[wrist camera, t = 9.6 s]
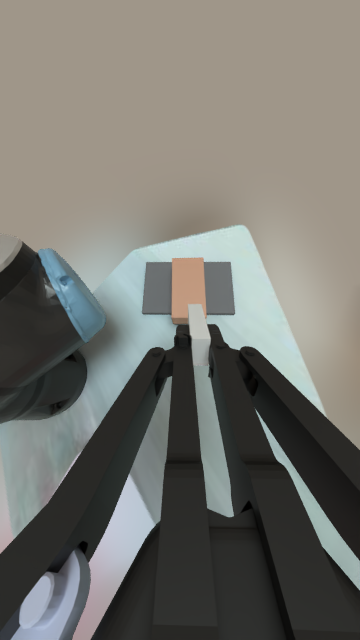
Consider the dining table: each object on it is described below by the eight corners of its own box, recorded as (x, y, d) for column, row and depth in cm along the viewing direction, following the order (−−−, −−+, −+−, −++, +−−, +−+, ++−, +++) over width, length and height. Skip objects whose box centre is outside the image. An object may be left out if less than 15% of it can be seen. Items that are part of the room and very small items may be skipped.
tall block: (171, 317, 30) (172, 258, 34) (173, 323, 35) (173, 271, 39) (206, 317, 30) (203, 257, 34) (203, 323, 35) (200, 270, 39)
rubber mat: (143, 314, 37) (142, 312, 36) (147, 265, 41) (146, 262, 40) (233, 314, 37) (235, 313, 36) (229, 264, 40) (230, 261, 39)
